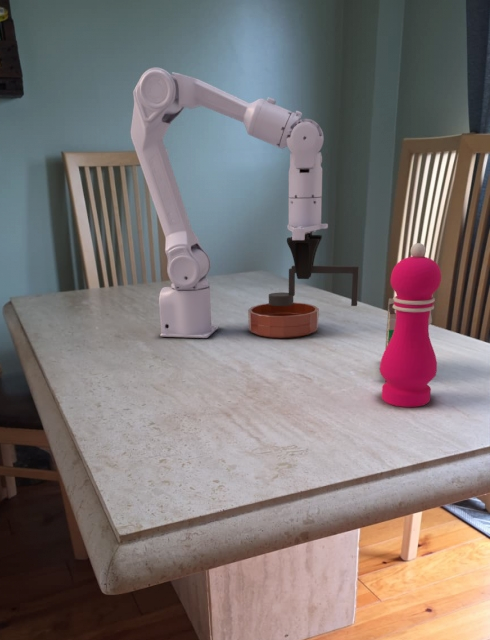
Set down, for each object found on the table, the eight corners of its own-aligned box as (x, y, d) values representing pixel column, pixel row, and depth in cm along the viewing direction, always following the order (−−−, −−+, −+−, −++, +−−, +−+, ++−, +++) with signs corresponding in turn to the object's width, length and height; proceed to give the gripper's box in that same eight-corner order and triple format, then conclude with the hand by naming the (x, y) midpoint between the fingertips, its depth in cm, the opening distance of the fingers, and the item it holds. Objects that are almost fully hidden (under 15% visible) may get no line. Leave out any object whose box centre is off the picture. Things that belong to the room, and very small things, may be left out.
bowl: (242, 338, 116) (241, 315, 114) (257, 322, 128) (256, 301, 126) (312, 340, 113) (313, 317, 111) (321, 324, 125) (322, 302, 123)
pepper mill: (371, 392, 86) (380, 241, 78) (422, 389, 87) (436, 238, 79) (387, 410, 80) (399, 247, 72) (441, 407, 80) (460, 245, 72)
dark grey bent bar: (266, 306, 114) (266, 267, 112) (271, 301, 119) (271, 264, 116) (356, 307, 111) (357, 267, 108) (357, 303, 115) (359, 264, 112)
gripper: (322, 199, 100) (320, 285, 106) (333, 195, 113) (330, 271, 119) (279, 200, 102) (280, 284, 108) (294, 195, 115) (294, 271, 120)
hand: (304, 277), depth 113 cm, fingers closed on dark grey bent bar
